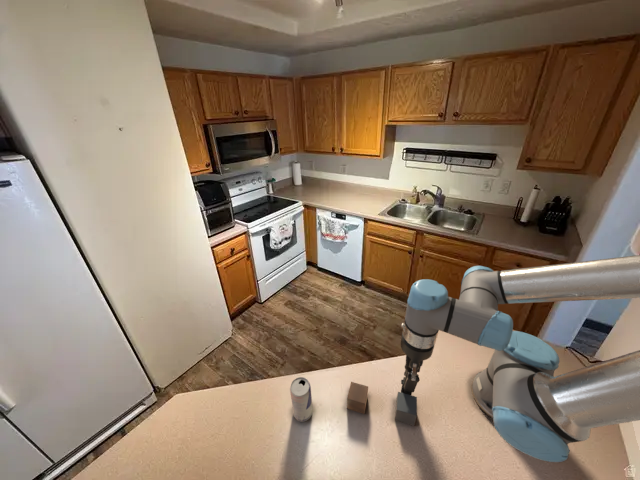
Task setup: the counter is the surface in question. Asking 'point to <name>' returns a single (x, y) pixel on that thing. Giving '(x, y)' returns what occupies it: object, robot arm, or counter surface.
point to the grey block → (406, 408)
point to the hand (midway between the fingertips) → (405, 394)
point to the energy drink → (301, 399)
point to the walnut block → (357, 397)
